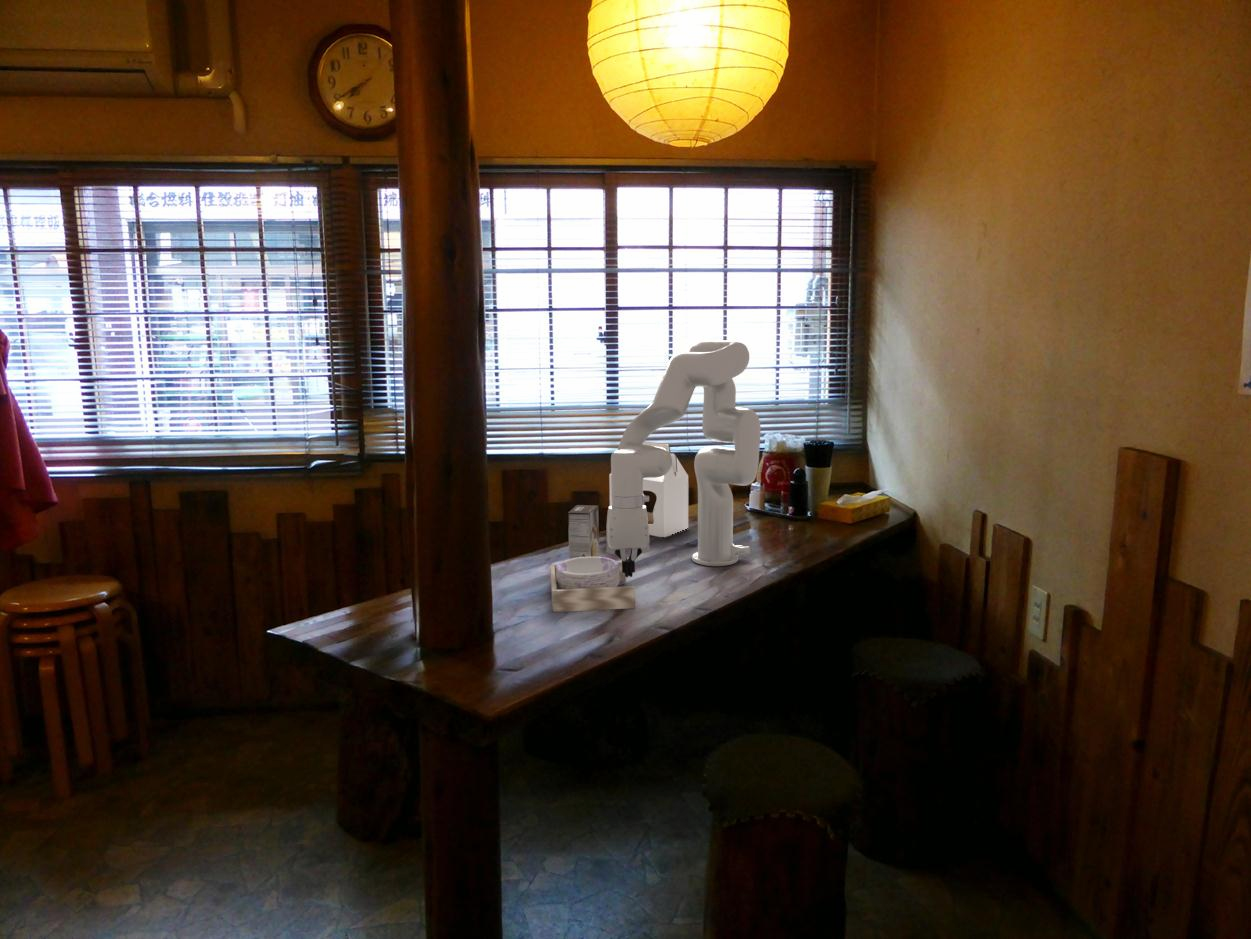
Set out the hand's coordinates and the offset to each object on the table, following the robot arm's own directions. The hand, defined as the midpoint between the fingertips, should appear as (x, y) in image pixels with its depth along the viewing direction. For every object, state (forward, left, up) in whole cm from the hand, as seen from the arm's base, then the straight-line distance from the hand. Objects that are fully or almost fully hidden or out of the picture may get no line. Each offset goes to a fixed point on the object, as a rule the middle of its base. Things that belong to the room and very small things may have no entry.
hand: (628, 575), depth 195 cm
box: (+9, 0, -4) cm, 10 cm away
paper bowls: (+10, +1, -5) cm, 11 cm away
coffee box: (+9, -24, -5) cm, 26 cm away
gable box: (-14, -62, -5) cm, 64 cm away
